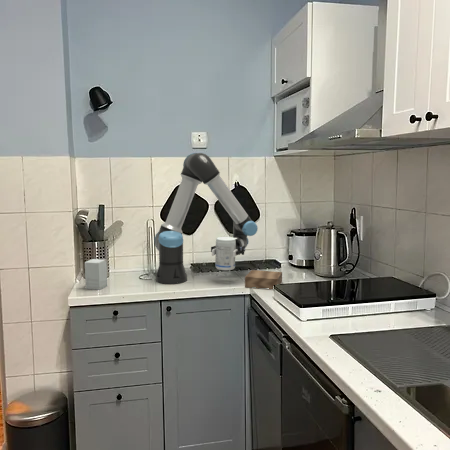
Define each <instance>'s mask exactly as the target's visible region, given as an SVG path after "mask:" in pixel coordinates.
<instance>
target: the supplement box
mask: <svg viewBox="0 0 450 450" xmlns="http://www.w3.org/2000/svg"><path fill="white" fill-rule="evenodd" d="M107 267H108V266H107V259H100V258H99V259H98V258H92V259H89V260H87V261H85V262H84V278H85V290H97V291H99V290H102V289H104V288H107V287H108V274H107V273H108V272H107V271H108V270H107Z"/></svg>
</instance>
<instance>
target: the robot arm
mask: <svg viewBox="0 0 450 450" xmlns="http://www.w3.org/2000/svg"><path fill="white" fill-rule="evenodd" d="M182 165H183V167H182V171H181V172H180V177H181V181H180V184H179V186H178V189H177V191H176V194H175V196H174V200H173V201H172V204H171V207H170V209H169V213H168V215H167V217H166V220H165V222H163V223H162V224H161V225H160V227H159V230H158V231H157V233H156V234H155V235H154V246H155V248H156V249H157V251H158V259H159V260H158V261H159V263H158V268H157V271H156V274H155V281H156V282H157V283H159V284H165V285H166V284H167V285H174V284H181V283H182V284H183V283H185V282H187V281H188V274H187V272H186V269H185V265H184V235H183V230H182V227H183V224H184V223H185V219H186V216H187V215H188V212H189V209H190V206H191V204H192V201H193V198H194V196H195V193H196V191H197V189H198V186H199V185H200V184H204V185H207V187H208V188H209V190H210V191H211V192H212V193H213V195H214V196H215V197H216V199H217V200H218V202H219V203H220V204H221V206H222V207H223V209H224V210H225V211H226V212H227V213H228V215H229V217H230V218H231V219H232V223H233V224H232V225H233V227H232V237H233V238H235V239H236V250H234V251H233V257H235V258H236V257H237V256H239V255H243V256H244V255H245V252H246V248H247V246H248V245H249V238H248V236H249V237H252V236H255V235H256V234H257V232H258V228H259V227H258V225H257V223H256V222H255V221H253V220H252V219H251V217H250V216H249V214H248V213H247V212H246V210H245V209H244V207H243V206H242V205H241V203H240V202H239V201H238V199H237V198H236V197H235V195H234V194H233V192H232V191H231V189H230V188H229V187H228V186H227V184H226V182H225V181H224V180H223V178H222V177H221V175H220V173H221V172H220V171H219V169H218V168H217V166H216V165H215V162H214V161H213V160H212V158H211V157H210V156H209V155H208V154H206V153H203V152H192V153H190V154H188V155H187V156H186V157H185V159H184V160H183V164H182ZM210 252H211V256H216V245H214V246H210Z"/></svg>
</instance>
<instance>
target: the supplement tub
mask: <svg viewBox="0 0 450 450" xmlns="http://www.w3.org/2000/svg"><path fill="white" fill-rule="evenodd" d="M215 240H216V241H215V246H216V254H215V263H214V264H215V265H214V266H215V267H214V268H215V269H217V270H219V271H231V270H234V269H235V268H236V256H235V257H233V251H234V250H236V239H235V238H233V236H232V237H231V236H218V237H216V239H215Z"/></svg>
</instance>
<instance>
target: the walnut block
mask: <svg viewBox="0 0 450 450" xmlns="http://www.w3.org/2000/svg"><path fill="white" fill-rule="evenodd" d="M282 283H283V271H272V270H257V269H256V270H255V269H252V270H250V271H249V272H248V273H247V274H246V275H245V276H244V287H245V288H249V289H253V288H252V287H256V288H255V289H259V288H269V289H268V290H271V289H273V286H274V285H277V284H282Z"/></svg>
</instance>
